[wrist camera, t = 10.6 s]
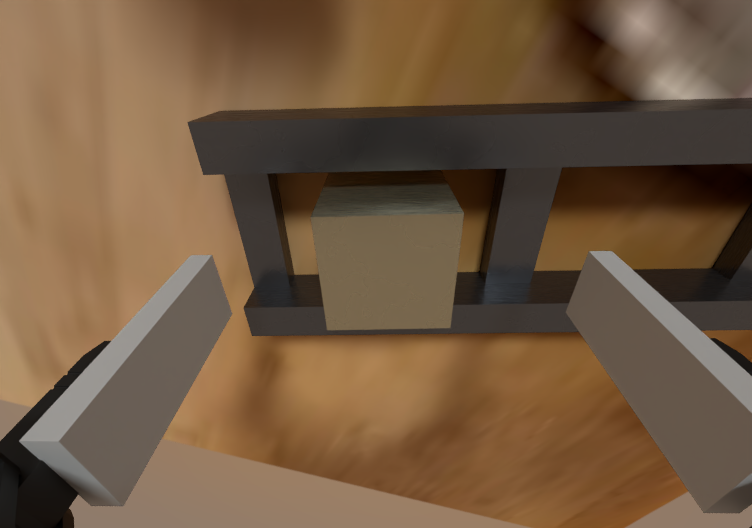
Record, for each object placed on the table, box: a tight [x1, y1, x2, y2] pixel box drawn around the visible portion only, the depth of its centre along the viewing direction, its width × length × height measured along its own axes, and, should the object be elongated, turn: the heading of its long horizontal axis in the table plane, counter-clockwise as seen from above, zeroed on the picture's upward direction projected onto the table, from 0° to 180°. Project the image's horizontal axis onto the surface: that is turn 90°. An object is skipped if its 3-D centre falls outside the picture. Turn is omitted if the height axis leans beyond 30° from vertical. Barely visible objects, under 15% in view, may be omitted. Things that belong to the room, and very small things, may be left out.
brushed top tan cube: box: [311, 170, 464, 330], centre depth 16 cm, size 6×6×6 cm
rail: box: [188, 98, 752, 336], centre depth 16 cm, size 11×28×3 cm, turn 91°
